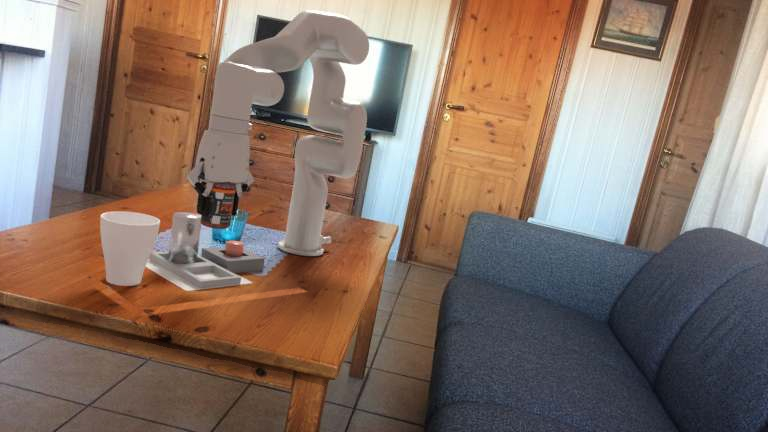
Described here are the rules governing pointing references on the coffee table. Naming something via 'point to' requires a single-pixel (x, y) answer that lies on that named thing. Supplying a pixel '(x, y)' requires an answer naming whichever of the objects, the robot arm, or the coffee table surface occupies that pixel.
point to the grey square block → (234, 260)
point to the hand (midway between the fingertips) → (216, 213)
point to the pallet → (193, 273)
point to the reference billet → (184, 238)
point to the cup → (127, 245)
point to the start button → (234, 248)
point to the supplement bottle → (220, 206)
